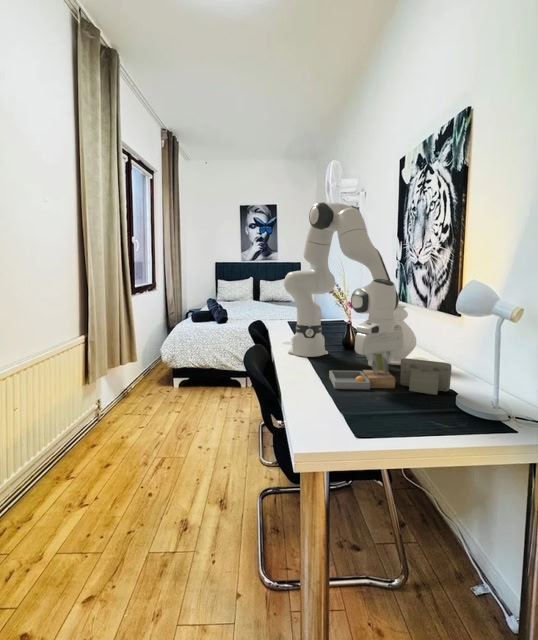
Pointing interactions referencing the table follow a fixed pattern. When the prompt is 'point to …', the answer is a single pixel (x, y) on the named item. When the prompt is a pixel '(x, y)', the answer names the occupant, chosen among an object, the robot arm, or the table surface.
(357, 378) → the ball
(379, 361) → the plant pot
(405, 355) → the decorative vase
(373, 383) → the stand
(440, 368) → the digital clock
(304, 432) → the table surface
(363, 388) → the tray
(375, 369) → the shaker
